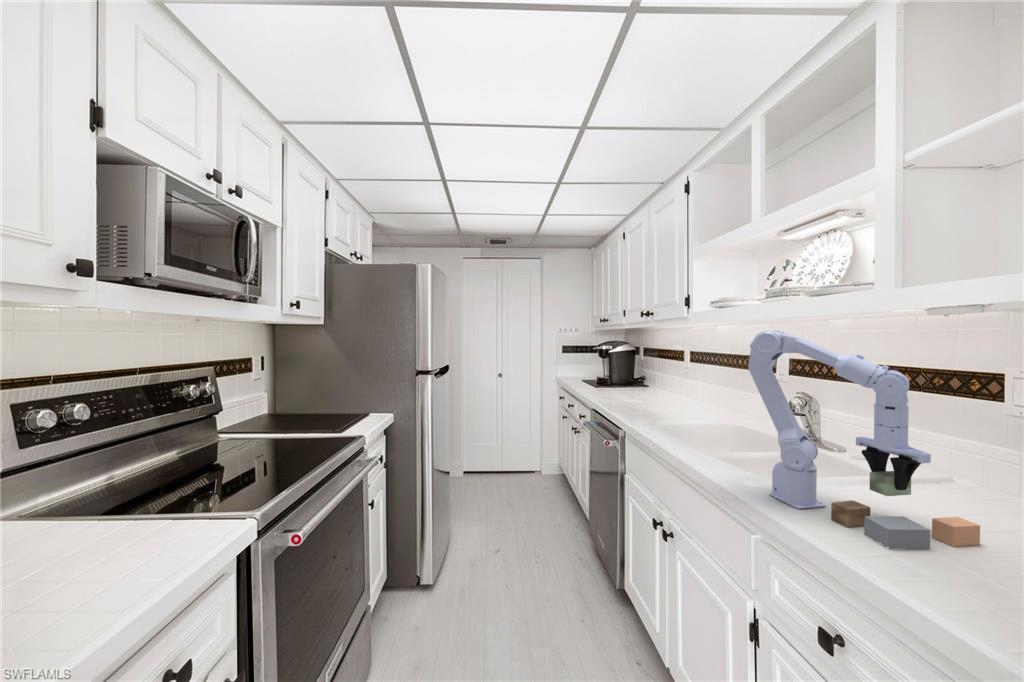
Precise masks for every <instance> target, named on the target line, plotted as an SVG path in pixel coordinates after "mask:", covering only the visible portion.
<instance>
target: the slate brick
mask: <svg viewBox="0 0 1024 682" xmlns="http://www.w3.org/2000/svg"><path fill="white" fill-rule="evenodd" d="M866 535H867V536H866ZM864 536H866V537H868V536H869V537H870V539H871V538H872V540H873V539H874V540H876V541H878V542H879V543H881V544H883V545H885V546H886V547H889V548H902V549H901V550H904V549H903V548H906V549H905V550H931V529H929V528H928V527H925V526H923V525H921V524H920V523H918V522H915V521H914V520H911V519H910V518H908V517H906V516H899V515H897V516H896V515H895V516H892V515H891V516H886V515H885V516H884V515H883V516H882V515H877V516H875V515H870V516H865V526H864ZM869 537H868V538H869ZM874 540H873V541H874ZM876 541H875V542H876ZM878 542H877V543H878ZM879 543H878V544H879ZM881 544H880V545H881ZM886 547H885V548H886Z"/></svg>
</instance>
